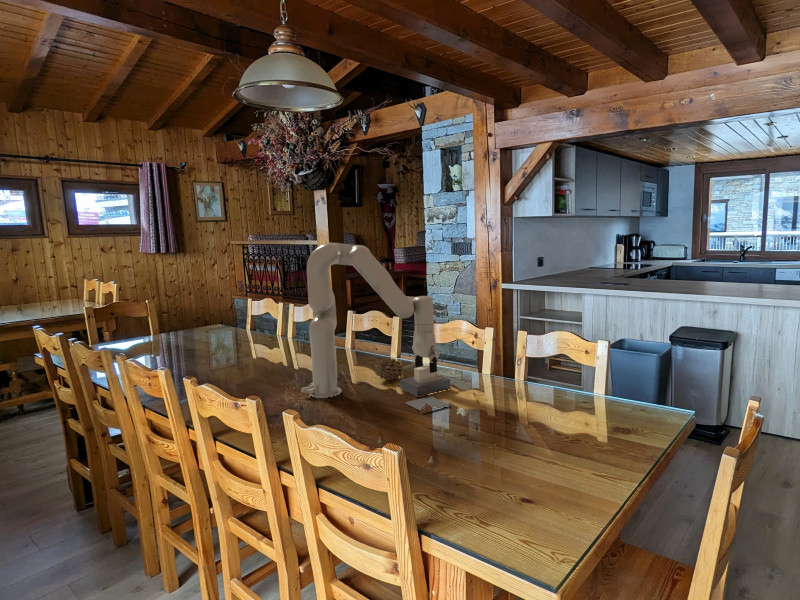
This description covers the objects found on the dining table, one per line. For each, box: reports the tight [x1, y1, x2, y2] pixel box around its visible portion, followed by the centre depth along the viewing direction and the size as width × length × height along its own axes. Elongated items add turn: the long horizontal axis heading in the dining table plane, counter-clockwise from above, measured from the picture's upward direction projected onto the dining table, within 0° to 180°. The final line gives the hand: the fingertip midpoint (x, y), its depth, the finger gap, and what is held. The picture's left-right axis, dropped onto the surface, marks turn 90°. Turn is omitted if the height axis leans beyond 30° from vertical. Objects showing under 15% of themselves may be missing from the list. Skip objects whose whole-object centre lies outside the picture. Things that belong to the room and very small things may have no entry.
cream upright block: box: [413, 364, 437, 383], centre depth 200 cm, size 8×4×10 cm, turn 123°
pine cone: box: [374, 357, 415, 381], centre depth 217 cm, size 22×10×10 cm, turn 129°
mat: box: [404, 395, 451, 412], centre depth 183 cm, size 12×12×1 cm
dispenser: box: [399, 373, 451, 397], centre depth 200 cm, size 16×12×5 cm
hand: (426, 369), depth 199 cm, fingers open, 9 cm apart
